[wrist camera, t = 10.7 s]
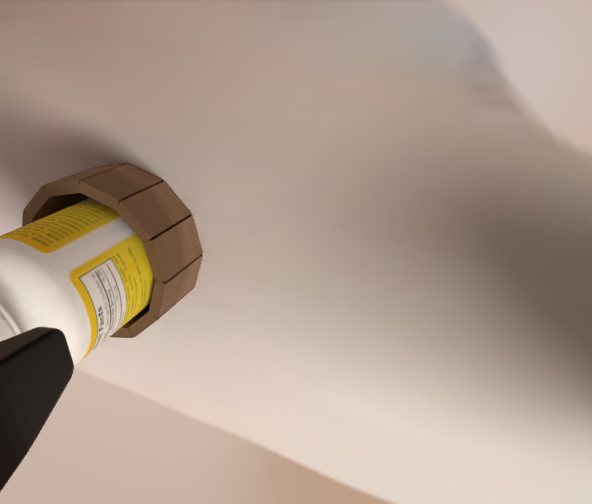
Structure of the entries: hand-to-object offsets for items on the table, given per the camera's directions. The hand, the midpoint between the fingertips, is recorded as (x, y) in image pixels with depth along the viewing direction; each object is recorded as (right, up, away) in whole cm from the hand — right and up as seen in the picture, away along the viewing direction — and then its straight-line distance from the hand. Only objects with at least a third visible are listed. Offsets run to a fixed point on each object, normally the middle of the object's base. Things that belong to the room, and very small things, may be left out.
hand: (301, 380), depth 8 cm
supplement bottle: (-8, +3, +15) cm, 17 cm away
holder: (-8, +3, +15) cm, 17 cm away
